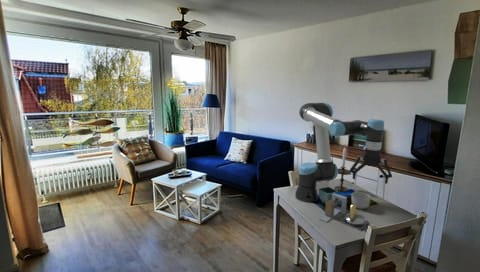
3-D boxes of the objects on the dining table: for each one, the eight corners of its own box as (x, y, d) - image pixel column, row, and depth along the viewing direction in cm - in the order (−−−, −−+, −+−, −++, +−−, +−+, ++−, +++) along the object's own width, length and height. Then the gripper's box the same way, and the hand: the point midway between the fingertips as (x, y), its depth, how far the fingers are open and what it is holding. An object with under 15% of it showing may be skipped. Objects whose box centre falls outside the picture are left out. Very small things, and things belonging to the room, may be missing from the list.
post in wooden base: (330, 217, 144) (332, 202, 142) (324, 214, 146) (326, 200, 144) (343, 206, 156) (345, 193, 154) (338, 205, 158) (339, 191, 157)
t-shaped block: (330, 224, 138) (331, 208, 136) (315, 218, 144) (316, 203, 143) (347, 210, 153) (348, 196, 152) (333, 205, 160) (334, 192, 158)
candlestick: (352, 191, 181) (357, 144, 174) (339, 193, 178) (343, 145, 172) (342, 186, 191) (346, 141, 185) (330, 187, 189) (333, 142, 182)
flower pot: (317, 201, 166) (318, 188, 164) (327, 199, 169) (328, 186, 167) (326, 207, 158) (327, 193, 156) (337, 204, 161) (338, 191, 159)
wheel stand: (348, 215, 147) (348, 213, 147) (368, 222, 140) (368, 220, 140) (340, 222, 140) (340, 220, 140) (360, 230, 132) (361, 228, 132)
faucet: (349, 214, 146) (350, 197, 144) (367, 220, 140) (369, 202, 137) (341, 220, 139) (343, 203, 137) (360, 227, 132) (362, 209, 130)
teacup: (371, 211, 152) (372, 199, 151) (352, 210, 154) (353, 197, 153) (365, 201, 165) (366, 190, 164) (347, 200, 168) (348, 188, 166)
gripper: (347, 147, 134) (343, 185, 138) (402, 153, 124) (396, 193, 128) (347, 145, 140) (344, 180, 144) (399, 149, 130) (394, 188, 135)
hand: (368, 186), depth 136 cm, fingers open, 13 cm apart
